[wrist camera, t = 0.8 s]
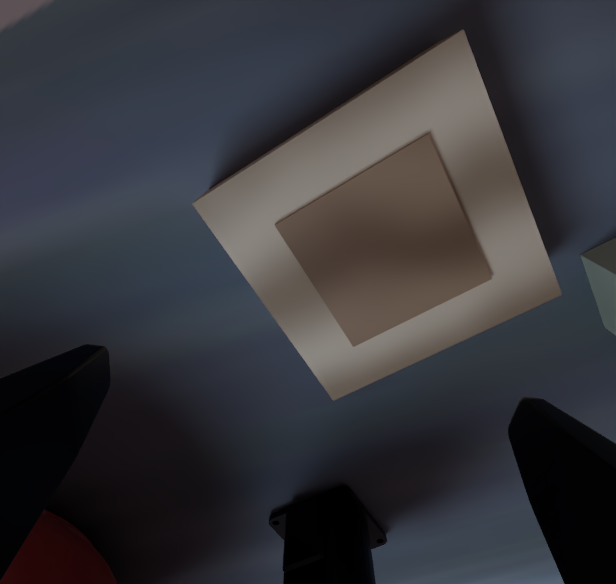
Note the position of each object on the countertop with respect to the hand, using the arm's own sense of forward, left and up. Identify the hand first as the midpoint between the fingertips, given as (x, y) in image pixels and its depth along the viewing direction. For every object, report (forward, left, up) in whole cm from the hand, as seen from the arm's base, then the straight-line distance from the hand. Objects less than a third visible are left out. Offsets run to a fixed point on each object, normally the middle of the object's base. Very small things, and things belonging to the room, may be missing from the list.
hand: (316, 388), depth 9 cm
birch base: (-2, -3, -13) cm, 13 cm away
